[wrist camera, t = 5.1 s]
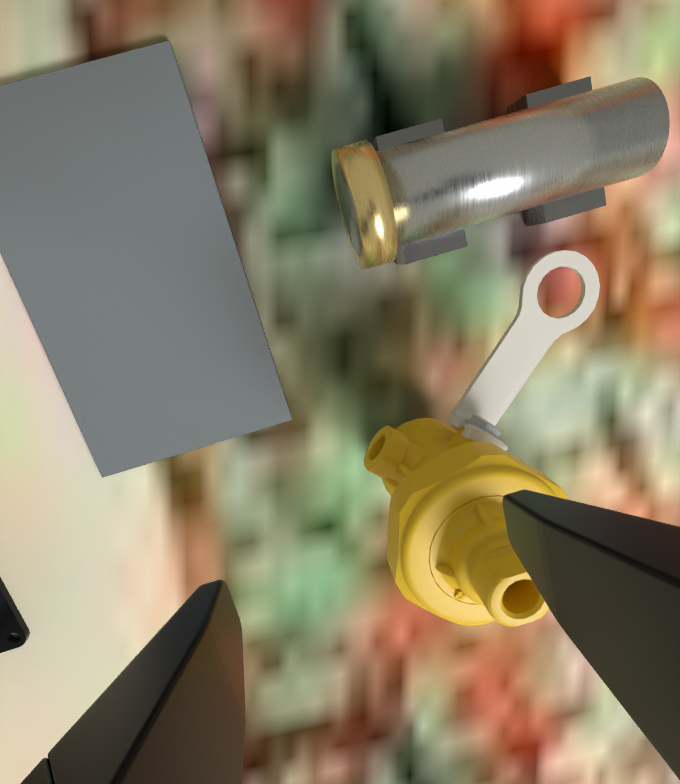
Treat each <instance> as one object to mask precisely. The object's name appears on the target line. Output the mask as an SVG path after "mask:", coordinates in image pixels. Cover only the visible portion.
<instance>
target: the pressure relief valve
mask: <svg viewBox="0 0 680 784" xmlns="http://www.w3.org/2000/svg"><path fill="white" fill-rule="evenodd" d="M560 266H566V267H568V268H570V269H572V270H574V271H575V273H576V274H577V275H578V276H579V278H580V281H581V284H582V292H581V297H580V299H579V302H578V304H577V305H576V307H575V308H574V309H573V310H572V311H571V312H570V313H568V314H566V315H565V316H562V317H557V318H552V317H549V316H548V315H546V314H545V313H543V312H542V310H541V308H540V307H539V305H538V300H537V291H538V286H539V284H540V282H541V280H542V278H543V277H544V276H545V275H546V274H547V273H548V272H549V271H550V270H552V269H555V268H557V267H560ZM599 287H600V285H599V278H598V274H597V271H596V269H595V267H594V265H593V264H592V263H591V262H590V261H589V260H588V259H587V258H586V257H585V256H583V255H581V254H579V253H578V252H574V251H567V250H561V251H555V252H550V253H548V254H546V255H544V256H542V257H540V258H539V259H538V260H537V261H536V262H535V263H534V264H532V265H531V267H530V268H529V270H528V271H527V273H526V274H525V276H524V278H523V281H522V284H521V287H520V298H519V308H518V312H517V314H516V316H515V318H514V320H513V321H512V323H511V324H510V326H509V327H508V329H507V330H506V332H505V333H504V335H503V336H502V338H501V339H500V341H499V342H498V344H497V345H496V347H495V348H494V350H493V351H492V353H491V354H490V356H489V357H488V359H487V360H486V362H485V363H484V365H483V366H482V368H481V369H480V371H479V372H478V374H477V375H476V377H475V378H474V380H473V381H472V383H471V384H470V386H469V387H468V389H467V390H466V392H465V393H464V394H463V396H462V397H461V399H460V400H459V402H458V403H457V405H456V406H455V408H454V409H453V411H452V412H451V414H450V415H449V417H448V422H449V423H450V424H452V425H454V426H457V427H459V430H458V431H456V430H454V429H453V428H451V427H449V426H448V425H446V424H444V423H443V422H441V421H439V420H437V419H435V418H418V419H414V420H411V421H408V422H406V423H404V424H402V425H400V426H399V427H397V428H396V429H394V428H392V427H391V426H389V425H386V426H384V427H383V428H382V429H380V430H379V431H378V432H377V434H376V435H375V436H374V437H373V439H372V441H371V442H370V444H369V446H368V448H367V451H366V454H365V458H364V465H365V467H366V469H367V470H368V471H370V472H372V473H374V474H376V475H377V476H379V477H381V478H382V481H383V483H384V485H385V487H386V489H387V491H388V492H389V493H390V495H391V501H390V511H389V523H388V543H387V561H388V563H389V566H390V569H391V571H392V574H393V577H394V580H395V582H396V584H397V586H398V587H399V589H400V591H401V592H402V594H403V596H404V597H405V598H406V599H408V600H410V601H411V602H413V603H415V604H416V605H418V606H420V607H422V608H424V609H425V610H427V611H429V612H431V613H433V614H435V615H437V616H440V617H442V618H444V619H447V620H449V621H452V622H454V623H457V624H460V625H482V624H486V623H489V622H492V621H497V622H499V623H501V624H503V625H505V626H510V627H513V626H519V625H522V624H525V623H528V622H531V621H534V620H537V619H539V618H541V617H543V615H544V614H545V613H546V612H547V611H548V609H549V607H548V606H547V604H546V602H545V601H544V599H543V597H542V596H541V594H540V592H539V591H538V589H537V588H536V586H535V584H534V583H533V581H532V579H531V578H530V576H529V574H528V573H527V571H526V570H525V568H524V566H523V565H522V563H521V561H520V560H519V558H518V557H517V555H516V553H515V552H514V550H513V548H512V546H511V544H510V541H509V538H508V533H507V527H506V522H505V516H504V511H503V505H502V499H503V497H504V495H506V494H509V493H512V492H516V491H519V490H524V489H526V490H530V491H534V492H538V493H543V494H547V495H551V496H555V497H559V498H563V499H567V500H568V498H567V496H566V494H565V492H564V490H563V489H562V488H561V487H559V486H558V485H557V484H556V483H554V482H553V481H552V480H551V479H549V478H548V477H547V476H546V475H544V474H543V473H541V472H540V471H538V470H536V469H535V468H533V467H531V466H530V465H528V464H527V463H525V462H523V461H522V460H520V459H518V458H517V457H515V456H513V455H512V454H510V453H508V452H506V451H507V449H508V448H507V446H506V445H505V444H504V443H502V442H501V441H500V440H499V439H498V437H499V435H500V434H501V432H502V431H501V430H500V429H498V428H497V427H496V426H495V425H496V424H497V422H498V421H499V419H500V418H501V416H502V415H503V413H504V412H505V411H506V409H507V408H508V406H509V405H510V403H511V402H512V400H513V399H514V398H515V396H516V395H517V393H518V392H519V390H520V389H521V387H522V386H523V385H524V383H525V382H526V380H527V379H528V377H529V376H530V374H531V373H532V372H533V370H534V369H535V367H536V366H537V364H538V363H539V361H540V360H541V359H542V357H543V356H544V354H545V353H546V351H547V350H548V348H549V347H550V345H551V344H552V343H553V342H554V341H555V339H556V338H558V337H559V336H560V335H562V334H564V333H566V332H568V331H570V330H572V329H574V328H576V327H578V326H579V325H580V324H581V323H583V322H584V321H585V320H586V319H587V318H588V317H589V315H590V314H591V312H592V311H593V309H594V308H595V305H596V302H597V300H598V296H599Z"/></svg>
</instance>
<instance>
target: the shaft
mask: <svg viewBox="0 0 680 784" xmlns="http://www.w3.org/2000/svg"><path fill="white" fill-rule="evenodd" d="M507 111H508V114H507V115H503V116H500V117H496V118H493V119H489V120H485V121H482V122H478V123H475V124H471V125H468V126H464V127H461V128H457V129H454V130H450V131H447V132H445V131H444V126H443V121H442V118H441V119H437V120H434V121H430V122H427V123H423V124H419V125H416V126H412V127H409V128H405V129H402V130H398V131H395V132H391V133H388V134H384V135H380V136H377V137H375V139H374V140H373V141H372V143H370V142H369V141H368V140H363V141H359V142H356V143H352V144H349V145H345V146H342V147H338V148H334V149H333V150H332V172H333V180H334V186H335V191H336V196H337V201H338V205H339V210H340V214H341V218H342V221H343V225H344V228H345V232H346V235H347V238H348V241H349V244H350V247H351V249H352V252H353V254H354V257H355V259H356V261H357V263H358V265H359V266H360V268H361V269H363V270H365V269H368V268H372V267H375V266H378V265H382V264H385V263H389V262H392V261H394V260H396V264H408V263H411V262H415V261H418V260H421V259H425V258H428V257H432V256H435V255H438V254H442V253H445V252H449V251H452V250H455V249H459V248H462V247H466V246H467V241H466V236H465V231H464V228H465V227H468V226H472V225H475V224H478V223H482V222H485V221H489V220H492V219H495V218H499V217H502V216H506V215H509V214H513V213H516V212H519V211H523V210H524V213H525V219H526V225H527V226H531V225H536V224H542V223H547V222H551V221H554V220H557V219H561V218H564V217H568V216H571V215H574V214H578V213H581V212H585V211H588V210H592V209H595V208H598V207H602V206H605V205H606V199H605V191H604V187H605V186H608V185H612V184H615V183H619V182H622V181H626V180H629V179H632V178H636V177H639V176H642V175H645V174H646V173H648V172H649V171H651V170H652V169H653V168H654V167H655V166H656V164H657V163H658V162H659V160H660V158H661V156H662V154H663V152H664V150H665V147H666V144H667V140H668V134H669V111H668V106H667V102H666V99H665V97H664V95H663V93H662V91H661V90H660V88H659V87H658V86H657V85H656V84H655V83H654V82H653V81H651V80H649V79H647V78H634V79H630V80H627V81H623V82H620V83H616V84H613V85H609V86H606V87H602V88H599V89H595V90H592V85H591V77H586V78H583V79H579V80H576V81H572V82H569V83H565V84H562V85H558V86H554V87H551V88H547V89H544V90H540V91H537V92H533V93H530V94H526V95H525V96H523V97H522V98H520V99H519V100H518V101H516V102H515V103H513V104H512V105H511V106H509V107H508V108H507Z"/></svg>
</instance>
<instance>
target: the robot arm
mask: <svg viewBox="0 0 680 784" xmlns="http://www.w3.org/2000/svg"><path fill="white" fill-rule="evenodd" d="M502 505H503V511H504V516H505V522H506V527H507V533H508V538H509V541H510V544H511V546H512V548H513V550H514V552H515V553H516V555H517V557H518V558H519V560H520V561H521V563H522V565H523V566H524V568H525V570H526V571H527V573H528V574H529V576H530V578H531V579H532V581H533V583H534V584H535V586H536V588H537V589H538V591H539V592H540V594H541V596H542V597H543V599H544V601H545V602H546V604H547V606H548V607H549V609H550V610H551V612H552V613H553V615H554V617H555V618H556V620H557V621H558V623H559V624H560V625H561V627H562V628H563V630H564V631H565V632H566V634H567V635H568V636H569V638H570V639H571V640H572V641H573V643H574V644H575V645H576V647H577V648H578V649H579V650H580V652H581V653H582V654H583V656H584V657H585V658H586V660H587V661H588V662H589V663H590V665H591V666H592V667H593V669H594V670H595V671H596V672H597V674H598V675H599V676H600V678H601V679H602V680H603V682H604V683H605V684H606V685H607V687H608V688H609V689H610V691H611V692H612V693H613V694H614V696H615V697H616V698H617V700H618V701H619V702H620V704H621V705H622V706H623V707H624V709H625V710H626V711H627V713H628V714H629V715H630V716H631V718H632V719H633V720H634V722H635V723H636V724H637V726H638V727H639V728H640V729H641V731H642V732H643V733H644V735H645V736H646V737H647V738H648V740H649V741H650V742H651V744H652V745H653V746H654V747H655V749H656V750H657V751H658V753H659V754H660V755H661V757H662V758H663V759H664V760H665V762H666V763H667V764H668V766H669V767H670V768H671V769H672V771H673V772H674V773H675V775H676V776H677V777H678V779H679V780H680V527H679V526H675V525H670V524H666V523H662V522H658V521H654V520H650V519H646V518H642V517H637V516H633V515H629V514H625V513H621V512H617V511H613V510H609V509H604V508H600V507H596V506H592V505H588V504H584V503H580V502H575V501H571V500H567V499H563V498H559V497H555V496H551V495H547V494H543V493H538V492H534V491H530V490H526V489H524V490H519V491H516V492H512V493H509V494H506V495H504V497H503V499H502ZM11 633H17V634H18V635H19V636H20V638H16V637H14V636H13V635H12V634H11ZM29 634H30V632H29V629H28V627H27V625H26V623H25V621H24V620H23V618H22V616H21V614H20V612H19V610H18V609H17V607H16V605H15V603H14V601H13V599H12V598H11V596H10V594H9V592H8V590H7V589H6V587H5V585H4V583H3V581H2V579H1V578H0V653H2V652H5V651H8V650H11V649H14V648H18V647H20V646H22V645H23V644H24V643H25V642H26V640H27V639H28V637H29ZM244 741H245V691H244V666H243V641H242V627H241V622H240V619H239V616H238V613H237V610H236V607H235V605H234V602H233V599H232V596H231V594H230V591H229V588H228V586H227V584H226V582H225V581H223V580H217V581H214V582H210V583H207V584H204V585H201V586H200V587H198V589H197V590H196V591H195V592H194V593H193V594H192V595H191V596H190V597H189V598H188V600H187V601H186V602H185V603H184V604H183V605H182V606H181V607H180V608H179V609H178V611H177V612H176V613H175V614H174V615H173V616H172V617H171V618H170V619H169V621H168V622H167V623H166V624H165V625H164V626H163V627H162V628H161V629H160V630H159V632H158V633H157V634H156V635H155V636H154V637H153V638H152V639H151V640H150V641H149V643H148V644H147V645H146V646H145V647H144V648H143V649H142V650H141V651H140V653H139V654H138V655H137V656H136V657H135V658H134V659H133V660H132V661H131V662H130V664H129V665H128V666H127V667H126V668H125V669H124V670H123V671H122V672H121V673H120V675H119V676H118V677H117V678H116V679H115V680H114V681H113V682H112V683H111V684H110V686H109V687H108V688H107V689H106V690H105V691H104V692H103V693H102V694H101V695H100V697H99V698H98V699H97V700H96V701H95V702H94V703H93V704H92V705H91V707H90V708H89V709H88V710H87V711H86V712H85V713H84V714H83V715H82V716H81V718H80V719H79V720H78V721H77V722H76V723H75V724H74V725H73V726H72V727H71V729H70V730H69V731H68V732H67V733H66V734H65V735H64V736H63V737H62V738H61V740H60V741H59V742H58V743H57V744H56V745H55V746H54V747H53V748H52V749H51V751H50V752H49V753H48V758H44V759H42V760H41V761H40V763H39V764H38V765H37V766H36V767H35V768H34V769H33V770H32V771H31V773H30V774H29V775H28V776H27V777H26V778H25V779H24V780H23V781H22V783H21V784H241V783H242V769H243V755H244Z"/></svg>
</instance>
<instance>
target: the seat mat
mask: <svg viewBox="0 0 680 784" xmlns="http://www.w3.org/2000/svg"><path fill="white" fill-rule="evenodd" d="M0 253H1V255H2V257H3V259H4V261H5V264H6V266H7V268H8V270H9V273H10V275H11V277H12V279H13V281H14V284H15V286H16V288H17V290H18V292H19V295H20V297H21V299H22V301H23V304H24V306H25V308H26V310H27V312H28V315H29V317H30V319H31V321H32V323H33V326H34V328H35V330H36V332H37V335H38V337H39V339H40V341H41V343H42V346H43V348H44V350H45V352H46V354H47V357H48V359H49V361H50V363H51V366H52V368H53V370H54V372H55V374H56V377H57V379H58V381H59V383H60V385H61V388H62V390H63V392H64V394H65V397H66V399H67V401H68V403H69V405H70V408H71V410H72V412H73V414H74V416H75V419H76V421H77V423H78V425H79V427H80V430H81V432H82V434H83V436H84V439H85V441H86V443H87V445H88V447H89V450H90V452H91V454H92V456H93V458H94V461H95V463H96V465H97V467H98V470H99V472H100V474H101V476H102V478H103V477H106V476H109V475H112V474H116V473H119V472H122V471H126V470H129V469H132V468H135V467H139V466H142V465H145V464H148V463H152V462H155V461H158V460H162V459H165V458H168V457H171V456H175V455H178V454H181V453H185V452H188V451H191V450H194V449H198V448H201V447H204V446H207V445H211V444H214V443H217V442H221V441H224V440H227V439H230V438H234V437H237V436H240V435H243V434H247V433H250V432H253V431H257V430H260V429H263V428H266V427H270V426H273V425H276V424H280V423H283V422H286V421H289V420H292V417H291V413H290V410H289V407H288V404H287V401H286V398H285V395H284V392H283V389H282V386H281V383H280V380H279V376H278V373H277V370H276V367H275V364H274V361H273V358H272V355H271V352H270V349H269V346H268V342H267V339H266V336H265V333H264V330H263V327H262V324H261V321H260V318H259V315H258V312H257V308H256V305H255V302H254V299H253V296H252V293H251V290H250V287H249V284H248V281H247V278H246V275H245V271H244V268H243V265H242V262H241V259H240V256H239V253H238V250H237V247H236V244H235V241H234V237H233V234H232V231H231V228H230V225H229V222H228V219H227V216H226V213H225V210H224V207H223V203H222V200H221V197H220V194H219V191H218V188H217V185H216V182H215V179H214V176H213V173H212V170H211V166H210V163H209V160H208V157H207V154H206V151H205V148H204V145H203V142H202V139H201V136H200V132H199V129H198V126H197V123H196V120H195V117H194V114H193V111H192V108H191V105H190V102H189V99H188V95H187V92H186V89H185V86H184V83H183V80H182V77H181V74H180V71H179V68H178V65H177V61H176V58H175V55H174V52H173V49H172V46H171V43H170V41H165V42H161V43H158V44H154V45H150V46H146V47H143V48H139V49H135V50H132V51H128V52H124V53H120V54H117V55H113V56H109V57H105V58H102V59H98V60H94V61H90V62H87V63H83V64H79V65H75V66H72V67H68V68H64V69H60V70H57V71H53V72H49V73H46V74H42V75H38V76H34V77H31V78H27V79H23V80H19V81H16V82H12V83H8V84H4V85H1V86H0Z"/></svg>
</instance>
